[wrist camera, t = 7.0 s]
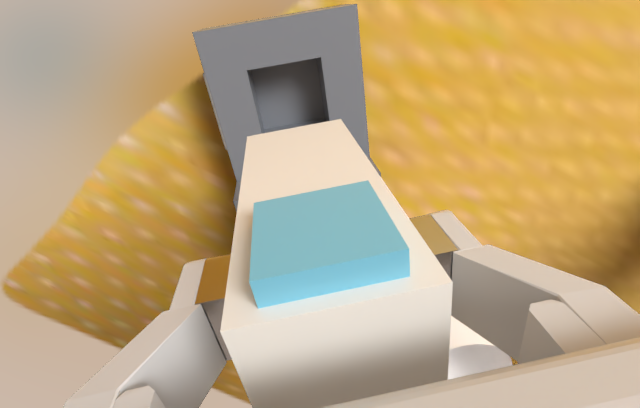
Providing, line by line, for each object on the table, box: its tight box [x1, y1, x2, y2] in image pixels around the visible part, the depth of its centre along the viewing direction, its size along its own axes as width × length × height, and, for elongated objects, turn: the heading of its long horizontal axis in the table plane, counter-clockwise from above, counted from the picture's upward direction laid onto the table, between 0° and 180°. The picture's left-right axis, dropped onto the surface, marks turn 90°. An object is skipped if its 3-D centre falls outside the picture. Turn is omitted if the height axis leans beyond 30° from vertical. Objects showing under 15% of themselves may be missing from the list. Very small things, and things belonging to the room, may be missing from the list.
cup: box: [448, 316, 512, 379], centre depth 33 cm, size 9×9×12 cm
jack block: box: [193, 4, 381, 212], centre depth 27 cm, size 10×20×7 cm, turn 9°
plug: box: [220, 119, 453, 408], centre depth 10 cm, size 4×4×9 cm
